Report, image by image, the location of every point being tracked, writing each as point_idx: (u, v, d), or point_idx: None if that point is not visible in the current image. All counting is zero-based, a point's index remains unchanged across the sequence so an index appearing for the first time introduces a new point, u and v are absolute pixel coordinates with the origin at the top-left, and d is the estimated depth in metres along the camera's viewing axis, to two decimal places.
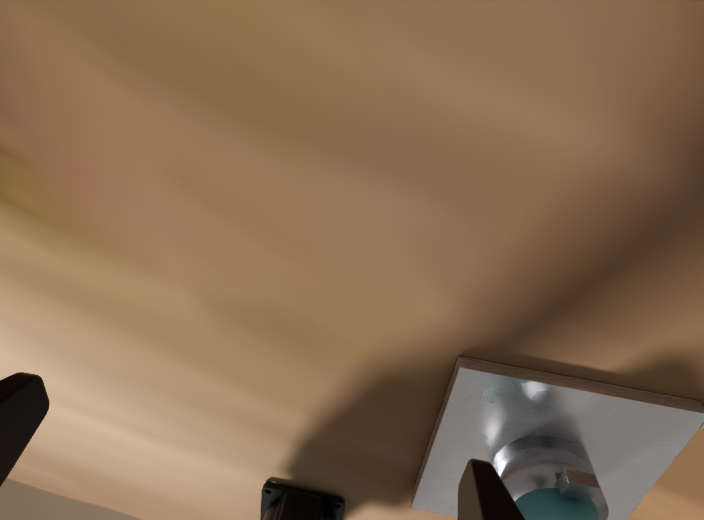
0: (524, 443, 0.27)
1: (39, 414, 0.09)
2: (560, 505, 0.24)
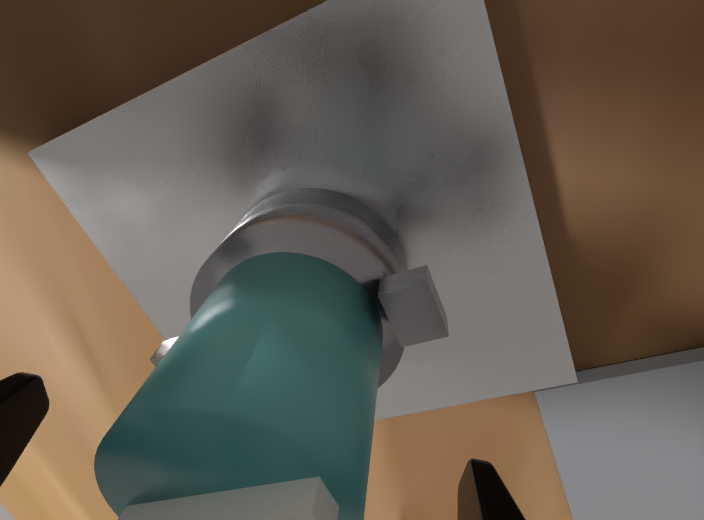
0: (359, 206, 0.13)
1: (39, 414, 0.09)
2: (358, 310, 0.10)
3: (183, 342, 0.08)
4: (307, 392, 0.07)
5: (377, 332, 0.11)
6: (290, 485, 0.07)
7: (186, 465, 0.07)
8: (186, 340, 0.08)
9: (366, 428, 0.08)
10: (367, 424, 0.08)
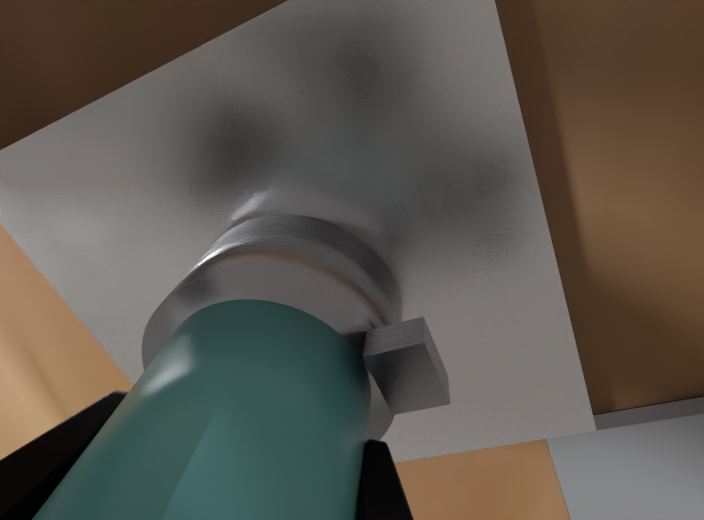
0: (344, 237, 0.11)
1: None
2: (339, 375, 0.08)
3: (107, 434, 0.07)
4: None
5: (363, 397, 0.09)
6: None
7: None
8: (111, 432, 0.07)
9: None
10: None
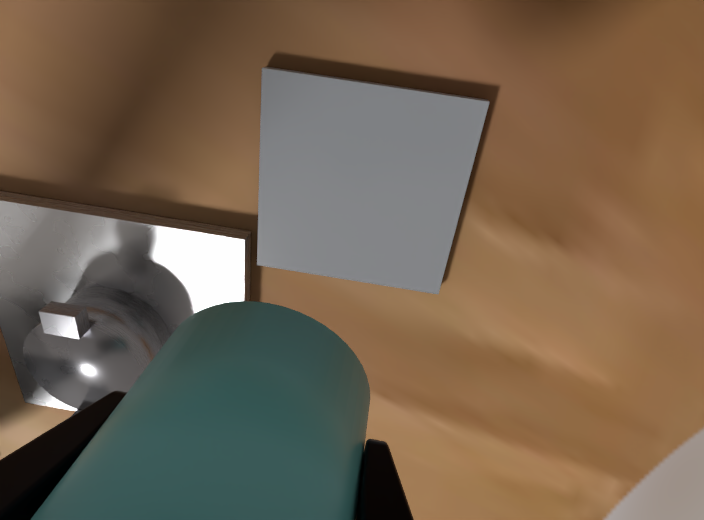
0: (73, 296, 0.23)
1: None
2: (337, 377, 0.08)
3: (103, 438, 0.06)
4: None
5: (361, 399, 0.09)
6: None
7: None
8: (107, 435, 0.06)
9: None
10: None
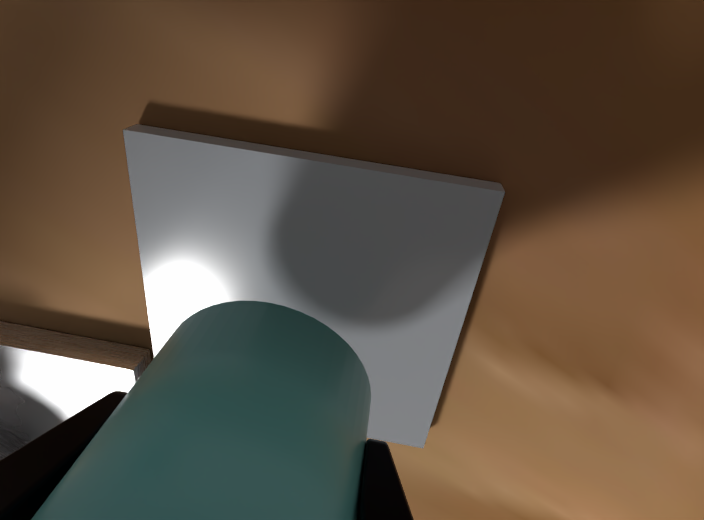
0: None
1: None
2: (338, 377, 0.08)
3: (104, 437, 0.06)
4: None
5: (363, 399, 0.09)
6: None
7: None
8: (108, 435, 0.06)
9: None
10: None
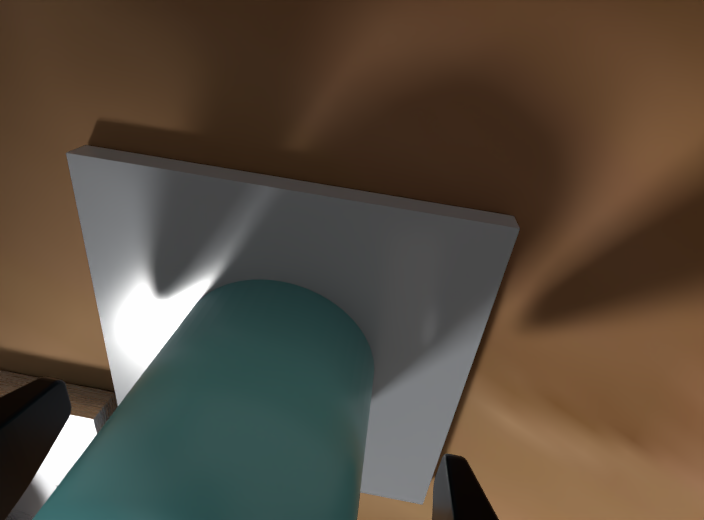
0: None
1: (62, 418, 0.09)
2: (344, 348, 0.09)
3: (135, 396, 0.07)
4: (277, 466, 0.06)
5: (367, 370, 0.10)
6: None
7: None
8: (139, 393, 0.07)
9: (351, 497, 0.07)
10: (352, 491, 0.07)
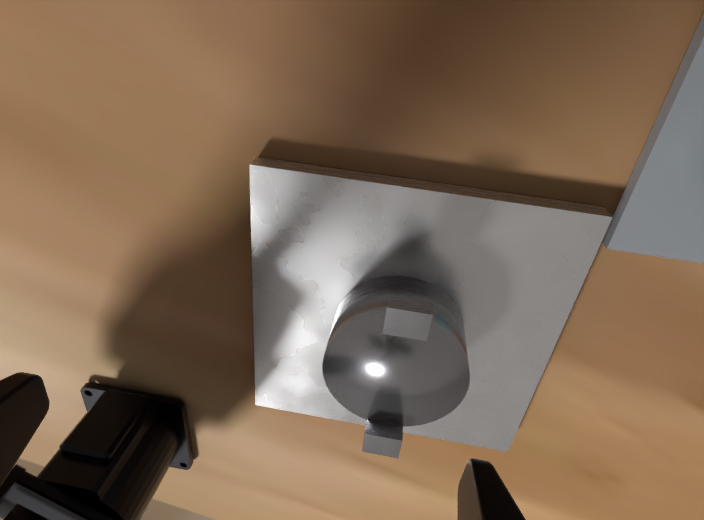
0: (363, 286, 0.19)
1: (39, 414, 0.09)
2: None
3: None
4: None
5: None
6: None
7: None
8: None
9: None
10: None
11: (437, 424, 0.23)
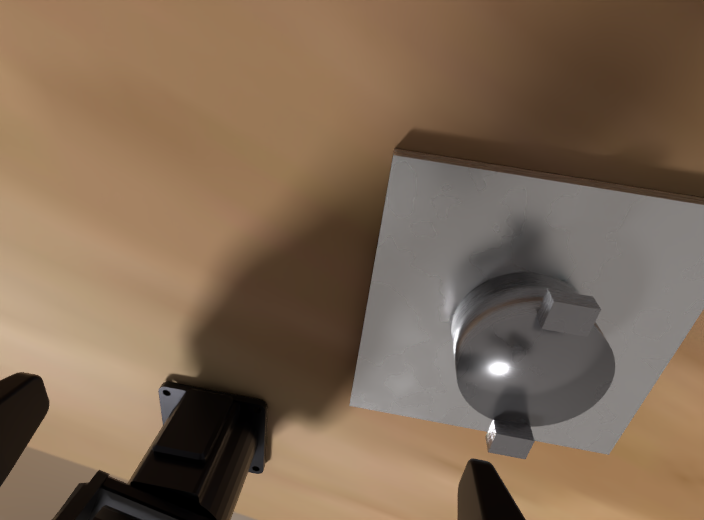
0: (493, 283, 0.19)
1: (39, 414, 0.09)
2: None
3: None
4: None
5: None
6: None
7: None
8: None
9: None
10: None
11: (540, 426, 0.23)
